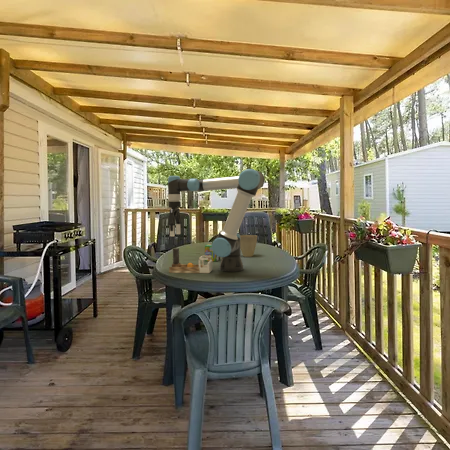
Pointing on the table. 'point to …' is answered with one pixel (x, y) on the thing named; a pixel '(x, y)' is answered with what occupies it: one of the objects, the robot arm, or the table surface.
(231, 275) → the table surface
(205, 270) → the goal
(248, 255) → the plant pot
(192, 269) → the tray
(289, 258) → the table surface
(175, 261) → the sled
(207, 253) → the chalk box
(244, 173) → the robot arm
